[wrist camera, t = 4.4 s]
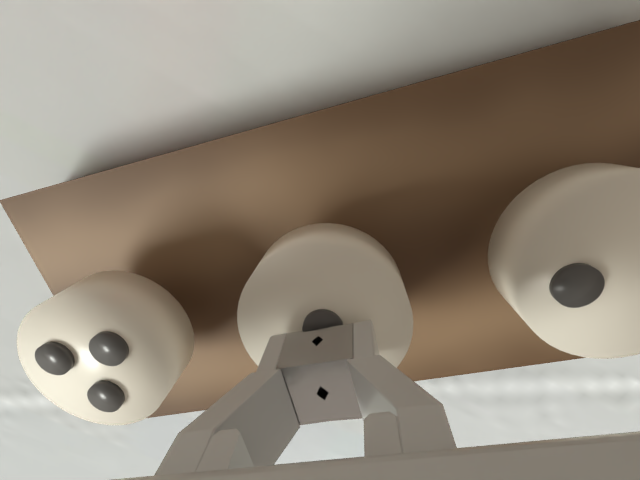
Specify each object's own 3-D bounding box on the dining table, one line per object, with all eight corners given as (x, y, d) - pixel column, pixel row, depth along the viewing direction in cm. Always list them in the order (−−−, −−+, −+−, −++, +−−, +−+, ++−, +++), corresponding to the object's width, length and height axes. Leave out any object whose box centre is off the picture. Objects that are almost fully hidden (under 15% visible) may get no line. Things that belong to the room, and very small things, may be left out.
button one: (235, 241, 11) (209, 268, 9) (387, 207, 10) (396, 228, 8) (279, 364, 13) (265, 410, 11) (413, 343, 12) (427, 388, 10)
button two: (479, 186, 10) (514, 203, 8) (675, 142, 9) (771, 147, 7) (495, 330, 12) (526, 375, 9) (663, 304, 11) (738, 347, 9)
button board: (59, 187, 16) (-1, 200, 13) (621, 30, 12) (702, 2, 9) (156, 378, 20) (125, 420, 17) (614, 306, 16) (671, 345, 13)
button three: (41, 284, 13) (-21, 317, 10) (162, 257, 12) (122, 286, 10) (102, 391, 14) (60, 437, 12) (213, 374, 13) (188, 420, 11)
